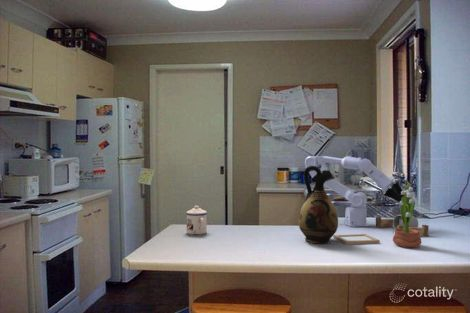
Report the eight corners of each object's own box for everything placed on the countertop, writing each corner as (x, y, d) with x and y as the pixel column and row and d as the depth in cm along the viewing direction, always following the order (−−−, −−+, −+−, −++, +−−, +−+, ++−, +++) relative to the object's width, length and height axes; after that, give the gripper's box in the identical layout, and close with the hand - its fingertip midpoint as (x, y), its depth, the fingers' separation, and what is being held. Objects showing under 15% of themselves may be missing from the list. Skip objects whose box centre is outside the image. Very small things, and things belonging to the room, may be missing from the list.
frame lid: (346, 244, 146) (346, 241, 146) (333, 238, 157) (333, 235, 157) (379, 243, 149) (379, 240, 149) (364, 236, 160) (364, 233, 160)
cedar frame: (399, 236, 161) (399, 225, 160) (375, 226, 182) (375, 217, 182) (428, 236, 162) (428, 225, 162) (401, 226, 183) (401, 216, 183)
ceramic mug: (419, 232, 169) (419, 215, 169) (405, 233, 166) (405, 216, 166) (402, 228, 179) (402, 211, 179) (387, 229, 176) (387, 212, 176)
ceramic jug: (342, 239, 155) (343, 165, 154) (331, 247, 142) (332, 167, 141) (302, 234, 164) (303, 164, 163) (288, 242, 150) (289, 165, 150)
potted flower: (426, 251, 138) (427, 181, 137) (396, 249, 140) (397, 181, 139) (417, 243, 150) (418, 179, 149) (390, 241, 152) (391, 178, 151)
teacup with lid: (183, 231, 168) (183, 205, 168) (202, 229, 173) (202, 203, 172) (192, 237, 158) (193, 209, 158) (213, 235, 162) (213, 207, 162)
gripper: (381, 174, 172) (405, 196, 167) (389, 169, 183) (412, 189, 179) (370, 185, 175) (394, 207, 170) (379, 179, 187) (401, 199, 182)
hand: (402, 198), depth 175 cm, fingers open, 7 cm apart
